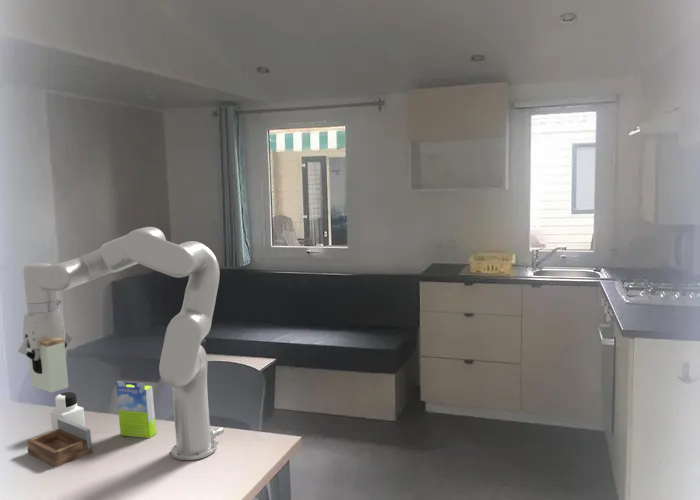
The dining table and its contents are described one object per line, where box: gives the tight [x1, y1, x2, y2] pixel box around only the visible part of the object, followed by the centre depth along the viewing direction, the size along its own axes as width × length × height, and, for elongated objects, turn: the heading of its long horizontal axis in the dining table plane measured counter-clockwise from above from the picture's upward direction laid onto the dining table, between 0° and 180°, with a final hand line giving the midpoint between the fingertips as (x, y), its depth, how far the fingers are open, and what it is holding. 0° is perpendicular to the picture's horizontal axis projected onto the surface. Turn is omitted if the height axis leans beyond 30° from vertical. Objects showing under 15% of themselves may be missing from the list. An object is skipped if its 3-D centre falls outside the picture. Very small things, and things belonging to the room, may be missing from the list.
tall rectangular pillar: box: [27, 338, 69, 393], centre depth 173 cm, size 5×11×14 cm, turn 53°
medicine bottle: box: [50, 391, 86, 431], centre depth 192 cm, size 7×7×12 cm
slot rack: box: [26, 418, 93, 468], centre depth 177 cm, size 11×16×7 cm
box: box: [115, 381, 157, 439], centre depth 187 cm, size 10×4×17 cm, turn 74°
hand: (48, 369), depth 174 cm, fingers closed on tall rectangular pillar, 5 cm apart
